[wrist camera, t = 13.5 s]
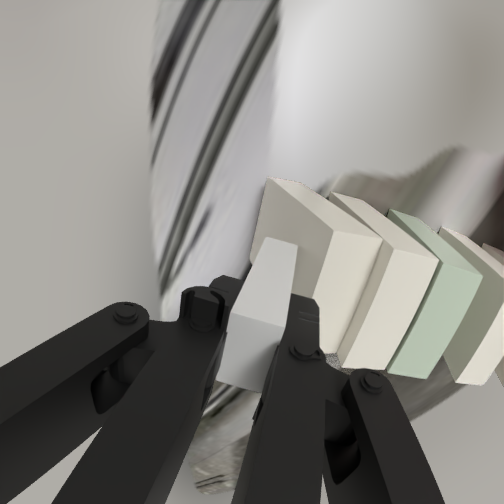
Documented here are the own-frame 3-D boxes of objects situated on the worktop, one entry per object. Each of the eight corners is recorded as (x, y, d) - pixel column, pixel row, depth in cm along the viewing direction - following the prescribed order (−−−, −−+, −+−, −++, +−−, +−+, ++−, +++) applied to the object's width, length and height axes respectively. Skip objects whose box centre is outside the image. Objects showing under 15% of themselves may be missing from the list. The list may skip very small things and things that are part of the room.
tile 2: (330, 191, 20) (394, 248, 11) (362, 200, 20) (439, 259, 11) (307, 271, 22) (341, 367, 13) (337, 276, 22) (384, 369, 13)
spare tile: (389, 208, 20) (443, 262, 11) (418, 218, 20) (483, 276, 10) (363, 283, 22) (387, 372, 13) (390, 290, 22) (426, 378, 13)
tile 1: (267, 176, 20) (334, 230, 11) (300, 182, 20) (383, 238, 12) (249, 258, 22) (291, 354, 13) (280, 261, 23) (336, 353, 14)
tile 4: (441, 226, 19) (511, 286, 10) (464, 235, 19) (537, 295, 10) (413, 296, 22) (455, 382, 13) (436, 302, 21) (483, 385, 12)
